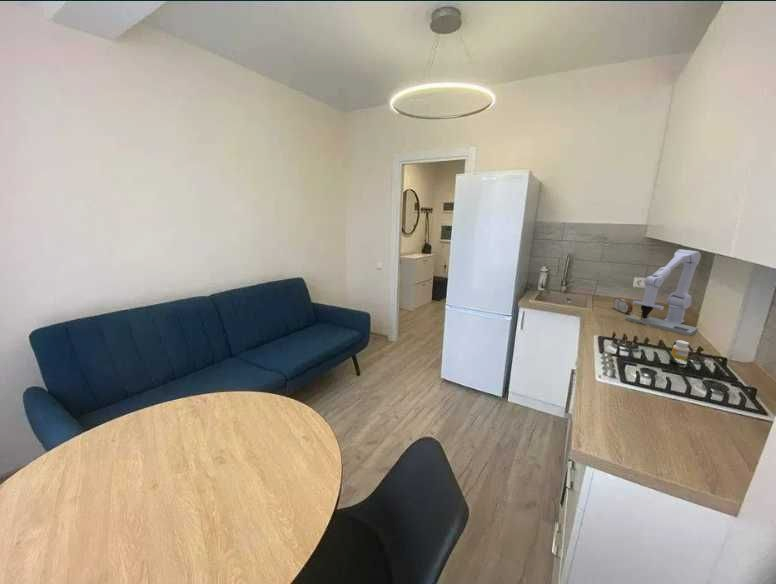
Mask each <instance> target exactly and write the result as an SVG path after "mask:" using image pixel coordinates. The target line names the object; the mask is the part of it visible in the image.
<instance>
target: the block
mask: <svg viewBox="0 0 776 584" xmlns="http://www.w3.org/2000/svg"><path fill="white" fill-rule="evenodd" d="M632 314H633V317H632V318H635V319H639V320H641V319H643V313H642V311H640V310H639V311H638V310H634V311H633V313H632Z"/></svg>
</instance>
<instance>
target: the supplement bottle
mask: <svg viewBox="0 0 776 584" xmlns="http://www.w3.org/2000/svg"><path fill="white" fill-rule="evenodd" d="M675 342H676V343H675V344H674V345H672V347H671V352H670V355H672V356H673V357H675V358H677V359H682V360H685V359H687V360H688V356H689V352H690V347H689V345H690V342H687V341H685V340H681V339H680V340H679V339H677V340H676V341H675Z"/></svg>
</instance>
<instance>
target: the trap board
mask: <svg viewBox="0 0 776 584" xmlns="http://www.w3.org/2000/svg"><path fill="white" fill-rule="evenodd" d="M632 317H633V313H632V314H630V315H628V316H626V318H625V321H627V320H629V321H628V322H631V321H633V322H632V323H635V322H638V323H637V324H639V323H642V324H641V325H643V324H646V325H645V326H647V325H649V326H648V327H651V326H653V327H652V328H655V327H657V328H656V329H659V328H660V330H663V331H668V332H670V333H672V332H673V333H676V334H680V335H684V336H688V337H691V336H693V335H694V334H696V332H698V329H699V328H698V327H696V326H691V325H686V324H683V323H681V324H679V323H674V322H670V321H666V320H664V319H660V318H656V317H652V316H649V315H648V316H647V318H646V319H641V320H639V319H635V318H632Z"/></svg>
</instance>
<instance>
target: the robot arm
mask: <svg viewBox="0 0 776 584" xmlns="http://www.w3.org/2000/svg"><path fill="white" fill-rule="evenodd" d="M701 257H702V254H701V253H700V251H698V250H689V249H682V248H680V249H677V250H676V251H675V252H674V254H673V257H672V259H670V261H669V262H668V263H667V264H666V265H665V266H661V267H660V268H659V269H658V270H656V271H655V272H654V273H652V275H648V276H647V277H646V278H645V280H644V288H645V289H644V294H643V296H642V297H643V298H642V300H641V301H640V300H632V302H631V304H632V305H635V306H637V305H638V306H641V307H640V309H641V312H642V313H643V319H646V318H647V316H648V317H649V314H650V313H651V312H652V311H653V310H654V309H655V310H660V311H663V310H664V308H665V306H662V305H659V304H656V300H657V296H658V291H659V288H660V287H662V285H663V283H664V282H665V279H666V278H668V277H669V276H670V275H671V274H672V272H671V271H672V270H674V269H675V268H676V267H678V266H679V265H680V264H682V266H683V268H682V270H681V274H680V277H679V280H678V283H677V286H676V290H675V291H673V292H671V293H670V295H668V297H667V299H666V302H667V305H668V311H667V316H666V317H665V318H664V319H663V320H666V321H670V322H674V323H679V324H683V323H684V322H685V320H684V317H685V313H686V310H687V309H688V308H690V307H691V305H692V296H691V295H690V294H689V293H688V292H689V289H690V286H691V283H692V280H693V277H694V274H695V271H696V268H697V266H698V265H699V264H700V263H699V262H700V260H701Z"/></svg>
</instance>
